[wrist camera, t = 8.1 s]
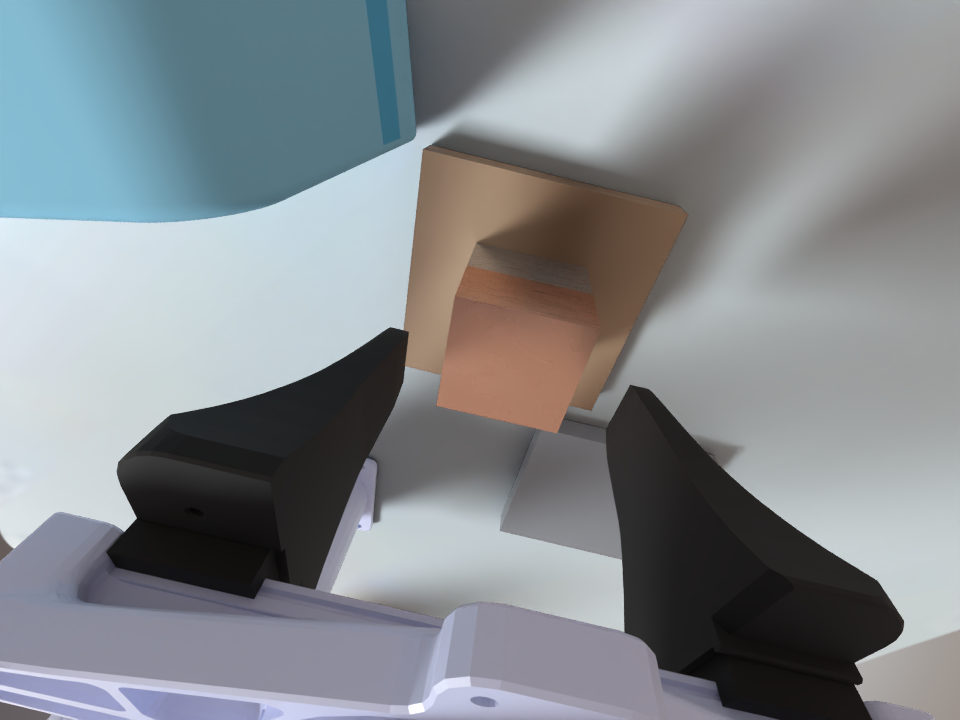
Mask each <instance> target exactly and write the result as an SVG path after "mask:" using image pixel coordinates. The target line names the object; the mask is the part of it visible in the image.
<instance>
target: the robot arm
mask: <svg viewBox="0 0 960 720" xmlns="http://www.w3.org/2000/svg"><path fill="white" fill-rule="evenodd" d="M408 337H409V332H408V331H404V330H400V329H396V328H391V327H390V328H388V329H386V330H385V331H383V332H382V333H381V334H379V335H378V336H376V337H375V338H373V339H372V340H370V341H369V342H367V343H366V344H365V345H363V346H362V347H360V348H358V349H357V350H355V351H354V352H352V353H350V354H349V355H347V356H346V357H344V358H342V359H341V360H339V361H337V362H335V363H333V364H332V365H330V366H328V367H326V368H325V369H323V370H321V371H319V372H317V373H314V374H312V375H310V376H308V377H306V378H303V379H301V380H299V381H296V382H294V383H291V384H289V385H286V386H283V387H280V388H277V389H274V390H272V391H269V392H266V393H263V394H260V395H257V396H253V397H250V398H246V399H243V400H239V401H235V402H231V403H227V404H223V405H219V406H215V407H209V408H204V409H199V410H194V411H189V412H184V413H178V414H172V415H170V416H169V417H167V418H166V419H165V420H164V421H163V422H161V423H160V424H159V425H158V426H157V427H156V428H154V429H153V430H152V431H151V432H150V433H149V434H148V435H147V436H146V437H145V438H143V439H142V440H141V441H140V442H139V443H138V444H137V445H136V446H135V447H134V448H132V449H131V450H130V451H129V452H128V453H127V454H126V455H125V456H124V457H123V458H122V459H121V460H120V461H119V462H118V467H117V476H118V479H119V482H120V485H121V487H122V489H123V491H124V493H125V495H126V497H127V499H128V501H129V503H130V505H131V507H132V509H133V511H134V513H135V515H136V517H137V519H136V520H135V521H134V522H133V523H132V525H131V526H130V527H129V528H128V529H127V530H126V531H125V532H123V531H122V530H121V529H120V528H118V527H116V526H115V525H112V524H109V523H106V522H102V521H98V520H94V519H89V518H85V517H81V516H76V515H72V514H68V513H63V512H59V513H54V514H53V515H52V516H51V517H50V518H49V519H47V520H46V521H45V522H44V523H43V524H42V525H41V526H40V527H38V528H37V529H36V530H35V531H34V532H33V533H32V534H31V535H29V536H28V537H27V538H26V539H25V540H24V541H23V542H22V543H20V544H19V545H18V546H17V547H16V548H15V549H14V550H13V551H11V552H10V553H9V554H8V555H7V556H6V557H5V558H4V559H2V560H1V561H0V702H4V703H8V704H12V705H17V706H21V707H25V708H29V709H34V710H38V711H42V712H46V713H50V714H51V716H50V717H49V718H48V720H935V719H934V717H933V716H932V715H931V714H929V713H927V712H925V711H921V710H917V709H912V708H908V707H904V706H900V705H895V704H891V703H887V702H880V701H865V702H863V701H862V699H861V697H860V695H859V693H858V691H857V690H856V687H855V685H859V684H862V681H863V678H862V677H861V675H860V673H859V671H858V669H857V667H856V665H855V662H857V661H859V660H861V659H863V658H865V657H867V656H869V655H871V654H873V653H875V652H877V651H879V650H881V649H883V648H885V647H886V646H888V645H889V644H891V643H893V642H894V641H896V640H897V638H898V637H899V636H900V635H901V633H902V631H903V627H904V620H903V619H902V617H901V616H900V614H899V613H898V611H897V609H896V608H895V606H894V605H893V603H892V602H891V600H890V599H889V597H888V596H887V594H886V593H885V591H884V590H883V588H882V587H881V585H880V584H879V582H878V581H877V580H875V579H874V578H872V577H870V576H869V575H867V574H865V573H864V572H862V571H861V570H859V569H857V568H856V567H854V566H852V565H851V564H849V563H848V562H846V561H844V560H843V559H841V558H839V557H838V556H836V555H834V554H833V553H831V552H830V551H828V550H827V549H825V548H823V547H822V546H821V545H819V544H818V543H816V542H815V541H813V540H812V539H810V538H809V537H807V536H806V535H804V534H803V533H801V532H800V531H799V530H797V529H796V528H794V527H793V526H792V525H790V524H789V523H787V522H786V521H785V520H783V519H782V518H781V517H779V516H778V515H777V514H775V513H774V512H773V511H772V510H770V509H769V508H768V507H766V506H765V505H764V504H763V503H761V502H760V501H759V500H758V499H756V498H755V497H754V496H753V495H752V494H750V493H749V492H748V491H747V490H746V489H744V488H743V487H742V486H741V485H740V484H739V483H738V482H737V481H735V480H734V479H733V478H732V477H731V476H730V475H729V474H728V473H727V472H725V471H724V470H723V469H722V468H721V467H720V466H719V465H718V464H717V463H716V462H715V461H714V460H713V459H712V458H711V457H710V456H709V455H708V454H707V453H706V452H705V451H704V450H703V449H702V448H701V446H700V445H699V444H698V443H697V442H696V441H695V440H694V439H693V438H692V437H691V436H690V435H689V433H688V432H687V431H686V430H685V429H684V428H683V427H682V426H681V424H680V423H679V422H678V421H677V420H676V419H675V417H674V416H673V415H672V414H671V413H670V412H669V411H668V409H667V408H666V407H665V406H664V405H663V404H662V403H661V401H660V400H659V399H658V398H657V397H656V396H655V395H654V394H653V393H652V392H651V391H650V390H649V389H646V388H641V387H637V386H633V385H630V386H629V388H628V390H627V392H626V394H625V396H624V397H623V399H622V401H621V403H620V405H619V407H618V408H617V410H616V412H615V414H614V416H613V418H612V420H611V421H610V423H609V425H608V427H607V429H606V452H607V462H608V468H609V474H610V479H611V485H612V490H613V495H614V501H615V506H616V511H617V516H618V522H619V529H620V538H621V551H622V565H623V586H624V630H625V633H624V632H622V631H619V630H615V629H610V628H606V627H602V626H597V625H593V624H589V623H584V622H580V621H576V620H571V619H567V618H563V617H558V616H554V615H550V614H545V613H541V612H537V611H532V610H528V609H524V608H519V607H515V606H511V605H506V604H498V603H488V602H477V603H472V604H467V605H461V606H459V607H458V608H457V609H455V610H454V611H453V612H452V613H451V614H450V615H449V616H447V617H446V618H445V620H444V619H440V618H435V617H431V616H427V615H422V614H418V613H414V612H409V611H405V610H401V609H396V608H392V607H388V606H383V605H379V604H375V603H370V602H366V601H361V600H357V599H353V598H348V597H344V596H340V595H335V594H331V593H330V592H331V590H332V587H333V585H334V583H335V580H336V578H337V575H338V573H339V571H340V568H341V566H342V563H343V561H344V558H345V556H346V554H347V551H348V549H349V546H350V544H351V541H352V539H353V537H354V534H355V532H356V529H359V530H363V531H369V530H371V528H372V525H373V513H374V501H375V488H376V476H377V463H376V462H375V461H374V460H372V459H368V458H367V457H368V455H369V453H370V451H371V449H372V447H373V446H374V444H375V442H376V440H377V438H378V436H379V434H380V432H381V431H382V429H383V427H384V425H385V423H386V421H387V419H388V417H389V415H390V413H391V412H392V410H393V408H394V405H395V403H396V400H397V397H398V395H399V392H400V389H401V386H402V384H403V379H404V371H405V362H406V354H407V345H408ZM854 684H855V685H854Z"/></svg>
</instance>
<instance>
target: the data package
mask: <svg viewBox="0 0 960 720" xmlns="http://www.w3.org/2000/svg"><path fill="white" fill-rule="evenodd" d="M415 136H416V122H415V110H414V98H413V85H412V73H411V61H410V48H409V36H408V24H407V11H406V0H0V217H4V218H31V219H58V220H85V221H112V222H142V223H156V222H178V221H190V220H199V219H208V218H215V217H222V216H228V215H233V214H238V213H243V212H248V211H252V210H256V209H260V208H263V207H267V206H270V205H273V204H275V203H278V202H280V201H283V200H285V199H287V198H289V197H291V196H293V195H296V194H298V193H300V192H302V191H304V190H306V189H309V188H311V187H313V186H315V185H317V184H319V183H321V182H324V181H326V180H328V179H330V178H332V177H334V176H337V175H339V174H341V173H343V172H345V171H347V170H349V169H352V168H354V167H356V166H358V165H360V164H362V163H365V162H367V161H369V160H371V159H373V158H375V157H377V156H380V155H382V154H384V153H386V152H388V151H390V150H393V149H395V148H397V147H399V146H401V145H403V144H405V143H408V142H410V141H412V140H413V139H414V138H415Z"/></svg>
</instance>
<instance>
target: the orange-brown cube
mask: <svg viewBox="0 0 960 720" xmlns="http://www.w3.org/2000/svg"><path fill="white" fill-rule="evenodd" d="M600 332H601V326H600V322H599V318H598V313H597V309H596V305H595V301H594V296H593V292H592V288H591V284H590V279H589V275H588V271H587V268H586V267H581V266H577V265H573V264H568V263H564V262H560V261H555V260H551V259H547V258H542V257H538V256H534V255H529V254H525V253H521V252H516V251H512V250H508V249H503V248H499V247H495V246H490V245H486V244H482V243H477V242H476V245H475V247H474V250H473V252H472V255H471V257H470V260H469V262H468V265H467V267H466V269H465V272H464V274H463V277H462V279H461V282H460V284H459V287H458V289H457V292H456V294H455V298H454V304H453V310H452V315H451V321H450V327H449V333H448V339H447V345H446V351H445V357H444V363H443V369H442V375H441V381H440V387H439V393H438V399H437V405H436V406H440V407H444V408H448V409H453V410H457V411H461V412H466V413H470V414H474V415H479V416H483V417H488V418H492V419H496V420H501V421H505V422H509V423H514V424H518V425H523V426H527V427H531V428H536V429H540V430H544V431H549V432H553V433H557V432H558V430H559V428H560V425H561V423H562V421H563V418H564V416H565V414H566V411H567V409H568V407H569V404H570V402H571V400H572V397H573V395H574V392H575V390H576V388H577V385H578V383H579V381H580V378H581V376H582V374H583V371H584V369H585V367H586V364H587V362H588V360H589V357H590V355H591V353H592V350H593V348H594V346H595V343H596V341H597V339H598V336H599V334H600Z"/></svg>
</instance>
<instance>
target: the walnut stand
mask: <svg viewBox="0 0 960 720" xmlns="http://www.w3.org/2000/svg"><path fill="white" fill-rule="evenodd" d="M687 216H688V214H687V213H686V212H685V211H684V210H683V209H682V208H681V207H679V206H676V205H672V204H668V203H664V202H660V201H656V200H651V199H647V198H643V197H639V196H635V195H631V194H627V193H623V192H619V191H615V190H611V189H607V188H603V187H599V186H595V185H591V184H587V183H583V182H579V181H575V180H571V179H566V178H562V177H558V176H554V175H550V174H546V173H542V172H538V171H534V170H530V169H526V168H522V167H518V166H514V165H510V164H506V163H502V162H498V161H494V160H490V159H486V158H482V157H477V156H473V155H469V154H465V153H461V152H457V151H453V150H449V149H445V148H441V147H437V146H433V145H429V146H428V147H426V148H424V149H423V154H422V163H421V173H420V182H419V191H418V201H417V210H416V219H415V229H414V238H413V248H412V257H411V266H410V276H409V285H408V294H407V304H406V313H405V322H404V331H408V332H409V337H408V345H407V354H406V362H405V366H407V367H411V368H415V369H420V370H424V371H428V372H432V373H436V374H440V375H442V369H443V363H444V357H445V351H446V345H447V339H448V333H449V327H450V321H451V315H452V310H453V304H454V298H455V294H456V292H457V289H458V287H459V284H460V282H461V279H462V277H463V274H464V272H465V269H466V267H467V265H468V262H469V260H470V257H471V255H472V252H473V250H474V247H475V245H476V242H477V243H482V244H486V245H490V246H495V247H499V248H503V249H508V250H512V251H516V252H521V253H525V254H529V255H534V256H538V257H542V258H547V259H551V260H555V261H560V262H564V263H568V264H573V265H577V266H581V267H586V268H587V271H588V275H589V279H590V284H591V288H592V292H593V296H594V301H595V305H596V309H597V313H598V318H599V322H600V326H601V332H600V334H599V336H598V339H597V341H596V343H595V346H594V348H593V350H592V353H591V355H590V357H589V360H588V362H587V364H586V367H585V369H584V371H583V374H582V376H581V378H580V381H579V383H578V385H577V388H576V390H575V392H574V395H573V397H572V400H571V402H570V404H569V405H570V406H574V407H578V408H582V409H586V410H590V411H591V410H592V408H593V406H594V404H595V402H596V400H597V398H598V396H599V394H600V392H601V390H602V388H603V386H604V384H605V382H606V380H607V378H608V376H609V374H610V372H611V370H612V368H613V366H614V364H615V362H616V360H617V358H618V356H619V354H620V352H621V350H622V348H623V346H624V344H625V342H626V339H627V337H628V335H629V333H630V331H631V329H632V327H633V325H634V323H635V321H636V319H637V317H638V315H639V313H640V311H641V309H642V307H643V305H644V303H645V301H646V299H647V297H648V295H649V293H650V291H651V289H652V287H653V285H654V283H655V281H656V279H657V277H658V275H659V273H660V271H661V269H662V267H663V265H664V263H665V261H666V259H667V257H668V255H669V253H670V251H671V249H672V247H673V245H674V243H675V241H676V239H677V237H678V235H679V233H680V230H681V228H682V226H683V224H684V222H685V220H686V218H687Z"/></svg>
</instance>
